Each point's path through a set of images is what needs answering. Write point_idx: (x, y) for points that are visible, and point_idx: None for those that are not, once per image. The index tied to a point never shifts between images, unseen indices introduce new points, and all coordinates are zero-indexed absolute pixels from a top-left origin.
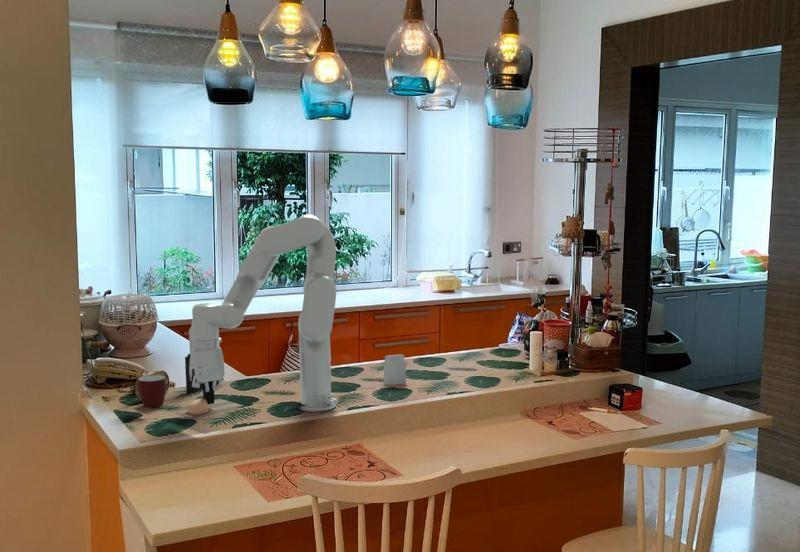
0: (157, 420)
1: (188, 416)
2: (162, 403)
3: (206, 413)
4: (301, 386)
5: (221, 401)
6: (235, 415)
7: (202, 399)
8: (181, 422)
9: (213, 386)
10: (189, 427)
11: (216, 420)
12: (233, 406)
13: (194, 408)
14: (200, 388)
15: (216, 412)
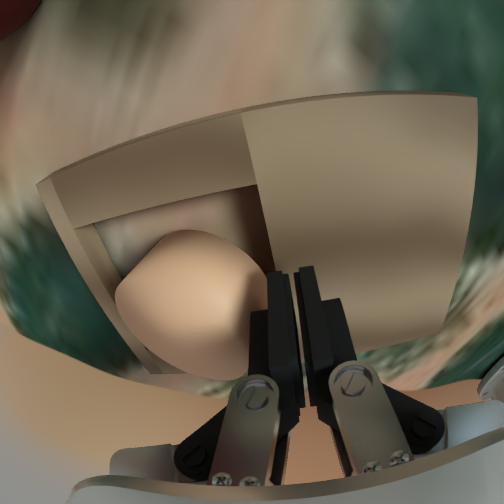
0: (10, 220)
1: (127, 340)
2: (19, 11)
3: None
4: None
5: (446, 181)
6: None
7: (231, 342)
8: (104, 312)
9: (341, 443)
10: (132, 369)
11: None
12: (407, 320)
13: (156, 352)
14: (209, 429)
15: None
